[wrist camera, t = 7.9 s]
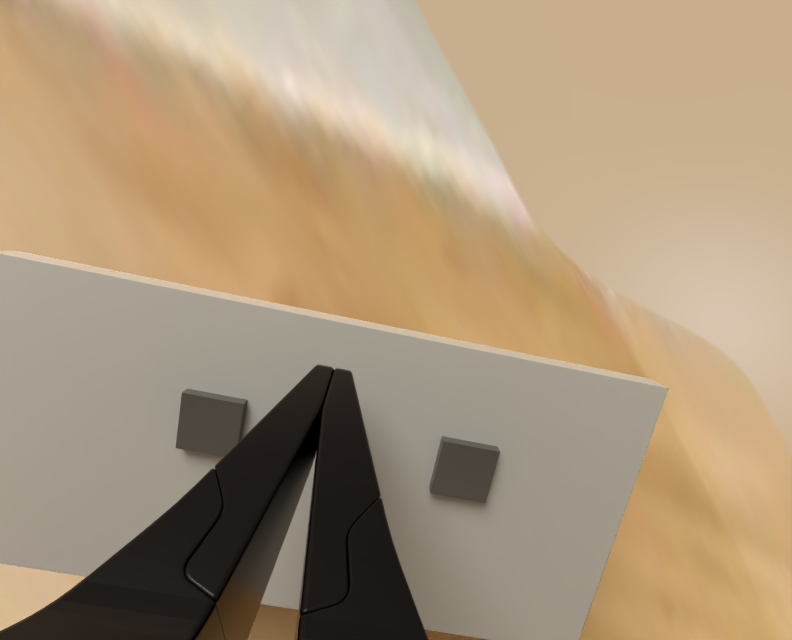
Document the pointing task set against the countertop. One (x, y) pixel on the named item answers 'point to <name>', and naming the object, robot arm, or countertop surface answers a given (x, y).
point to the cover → (388, 440)
